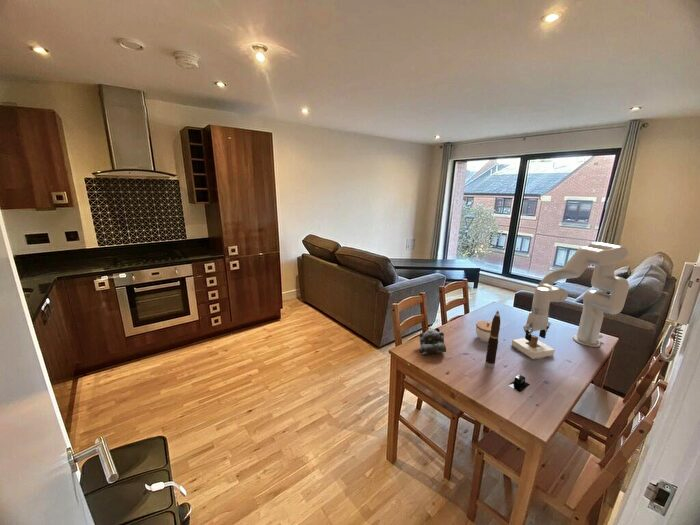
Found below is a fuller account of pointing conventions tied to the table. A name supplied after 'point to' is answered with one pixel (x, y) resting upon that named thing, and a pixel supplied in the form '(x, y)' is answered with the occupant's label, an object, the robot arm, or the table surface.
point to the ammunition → (493, 341)
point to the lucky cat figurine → (432, 341)
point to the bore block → (533, 349)
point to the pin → (533, 341)
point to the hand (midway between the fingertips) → (534, 338)
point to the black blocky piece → (519, 383)
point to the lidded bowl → (483, 330)
